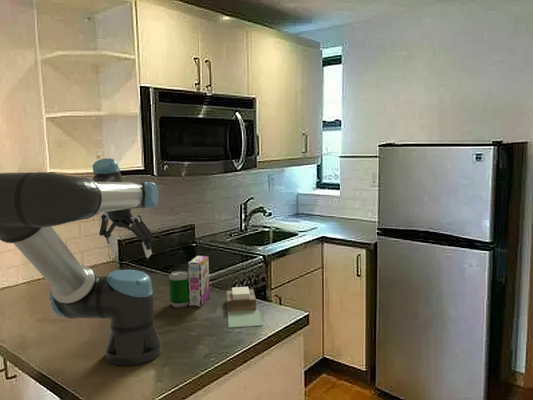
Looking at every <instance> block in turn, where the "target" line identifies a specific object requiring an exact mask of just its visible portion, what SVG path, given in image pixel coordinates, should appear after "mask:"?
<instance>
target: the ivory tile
mask: <svg viewBox="0 0 533 400" xmlns="http://www.w3.org/2000/svg"><path fill="white" fill-rule="evenodd" d="M249 289H250V288H249V286H237V287H236V286H235V287H231V290H232V296H233V300H242V299H250V292H249Z"/></svg>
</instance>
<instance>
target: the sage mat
mask: <svg viewBox="0 0 533 400" xmlns="http://www.w3.org/2000/svg"><path fill="white" fill-rule="evenodd" d="M227 321H228V324H227V325H228V329H234V328H235V329H236V328H249V327H250V328H251V327H263V326H264V323H263V321H262V316H261V312H260V309H256V310H245V311H228V310H227Z"/></svg>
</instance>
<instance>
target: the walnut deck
mask: <svg viewBox="0 0 533 400" xmlns="http://www.w3.org/2000/svg"><path fill="white" fill-rule="evenodd" d="M249 292H250V299H242V300H233V296H232V289H231V290H226V307H227V312H228V311H245V310H257V299H256V294H255V291H254V288H249Z"/></svg>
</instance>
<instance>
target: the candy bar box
mask: <svg viewBox="0 0 533 400" xmlns="http://www.w3.org/2000/svg"><path fill="white" fill-rule="evenodd" d="M209 260H210V259H209V256H208V255H196V256H195V257H193V258H192V259H191V260H190V261H188V262H187V267H188V268H187V273H188V278H189V305H188V306H189V307H197V308H198V307H203V305H204V304H205V303H206V302H207V300H208V299H209V298H210V268H209V267H210V265H209V262H210V261H209Z"/></svg>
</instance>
